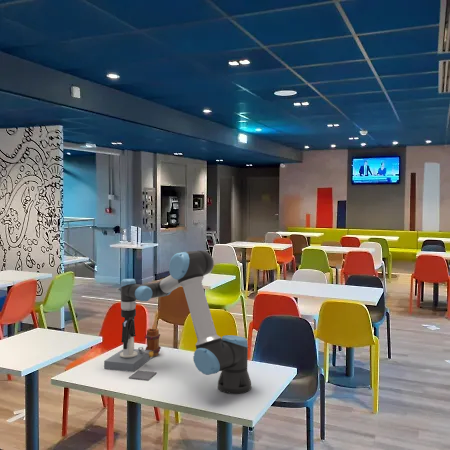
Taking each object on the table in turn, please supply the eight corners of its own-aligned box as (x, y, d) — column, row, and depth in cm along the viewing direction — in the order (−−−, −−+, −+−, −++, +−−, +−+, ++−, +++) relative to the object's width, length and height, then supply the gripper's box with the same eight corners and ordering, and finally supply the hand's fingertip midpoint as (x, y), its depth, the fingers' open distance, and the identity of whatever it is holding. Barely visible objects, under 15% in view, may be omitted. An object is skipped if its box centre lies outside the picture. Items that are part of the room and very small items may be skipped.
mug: (158, 358, 256) (158, 330, 255) (143, 357, 256) (143, 330, 255) (162, 349, 270) (162, 323, 270) (148, 349, 271) (148, 323, 270)
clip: (154, 358, 238) (154, 351, 238) (149, 359, 237) (149, 352, 237) (142, 349, 254) (142, 342, 253) (137, 349, 252) (137, 343, 252)
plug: (132, 366, 242) (132, 337, 241) (116, 365, 244) (116, 336, 243) (140, 361, 250) (140, 333, 250) (124, 359, 253) (124, 331, 252)
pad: (148, 380, 223) (148, 379, 223) (128, 378, 225) (128, 377, 225) (156, 373, 232) (156, 372, 232) (137, 371, 235) (137, 370, 235)
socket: (133, 371, 235) (133, 361, 234) (104, 368, 239) (104, 358, 239) (151, 357, 256) (151, 348, 256) (124, 355, 260) (124, 346, 260)
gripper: (129, 313, 235) (129, 358, 236) (141, 304, 257) (141, 345, 257) (114, 313, 236) (114, 358, 237) (127, 304, 257) (127, 345, 258)
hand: (128, 351), depth 247 cm, fingers open, 9 cm apart
